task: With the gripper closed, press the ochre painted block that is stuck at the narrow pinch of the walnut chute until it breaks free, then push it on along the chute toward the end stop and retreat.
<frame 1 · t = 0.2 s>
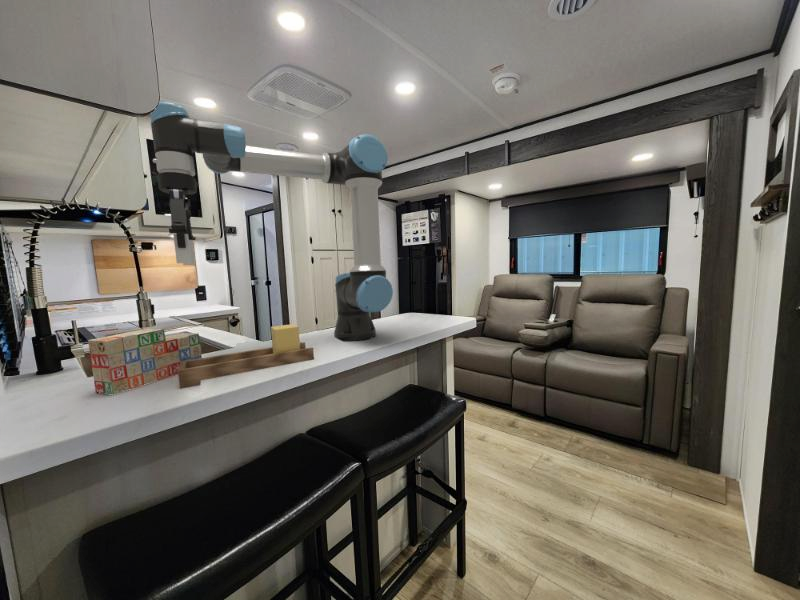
hand: (187, 264, 79), 28 cm above the table, tool pointing down, fingers open, 13 cm apart
block: (285, 343, 87), point 5 cm above the table, slide at 0.0 cm
stack of blocks: (155, 379, 80), on the table
chute: (251, 369, 83), on the table
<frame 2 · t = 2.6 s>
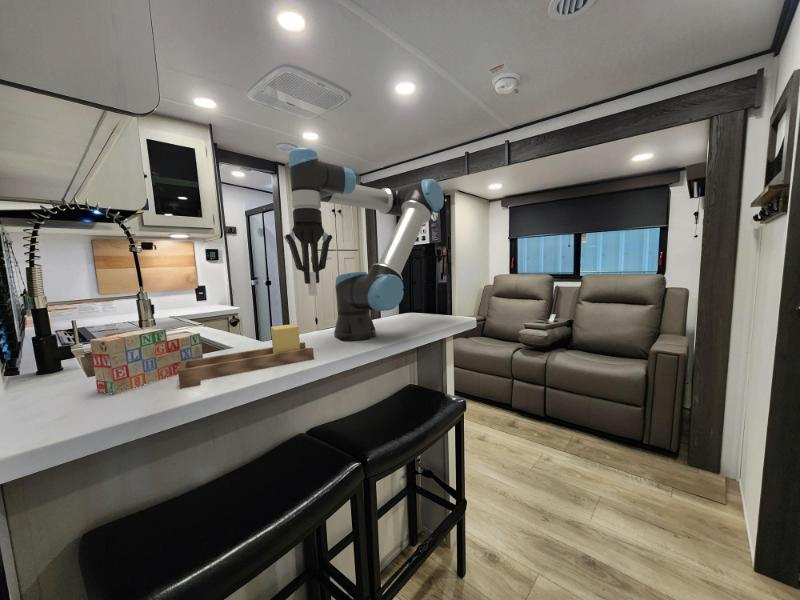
hand: (312, 295, 90), 18 cm above the table, tool pointing down, fingers closed
nothing on the table moved.
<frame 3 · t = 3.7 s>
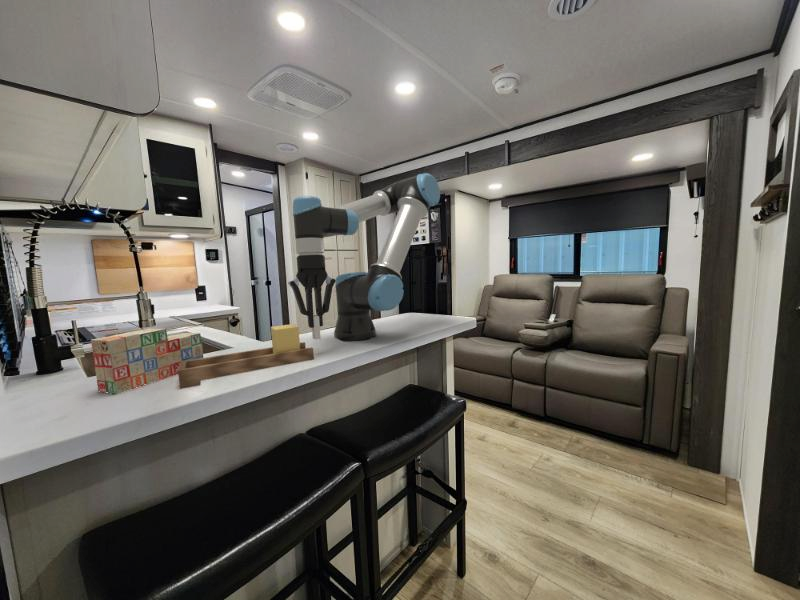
hand: (316, 338, 91), 6 cm above the table, tool pointing down, fingers closed
nothing on the table moved.
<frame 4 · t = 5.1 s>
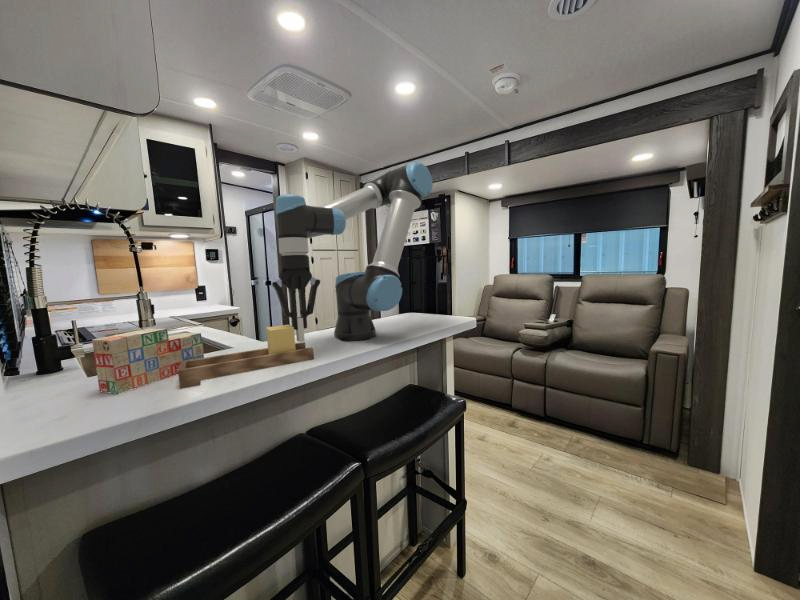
hand: (300, 340, 89), 6 cm above the table, tool pointing down, fingers closed
block: (281, 343, 86), point 5 cm above the table, slide at 1.2 cm, touching gripper
everything else where it was.
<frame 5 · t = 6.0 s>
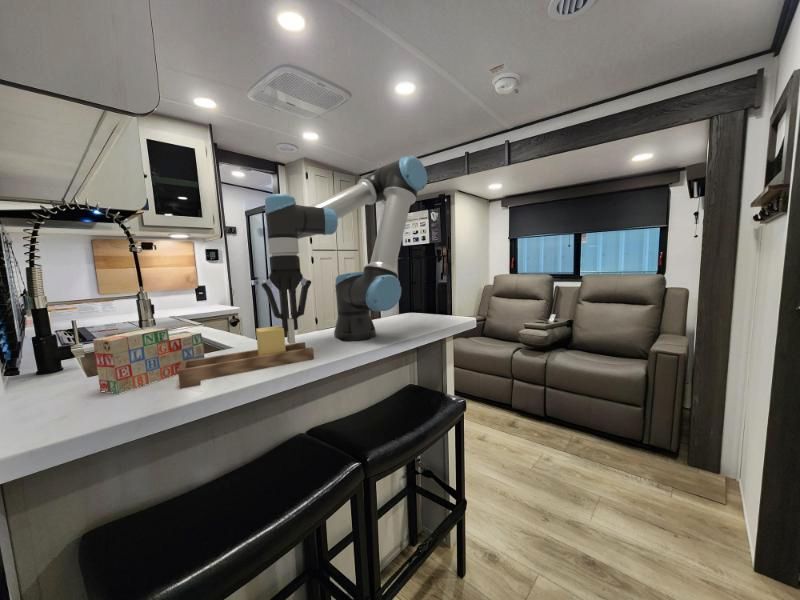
hand: (291, 342, 87), 6 cm above the table, tool pointing down, fingers closed
block: (271, 345, 85), point 5 cm above the table, slide at 3.7 cm, touching gripper
everything else where it was.
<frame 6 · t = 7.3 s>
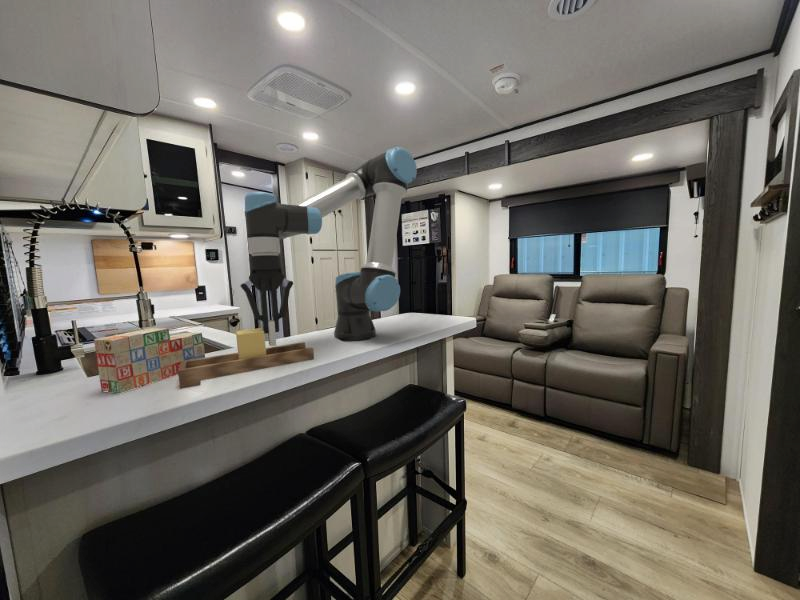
hand: (272, 344, 85), 6 cm above the table, tool pointing down, fingers closed
block: (251, 348, 82), point 5 cm above the table, slide at 8.5 cm, touching gripper
everything else where it was.
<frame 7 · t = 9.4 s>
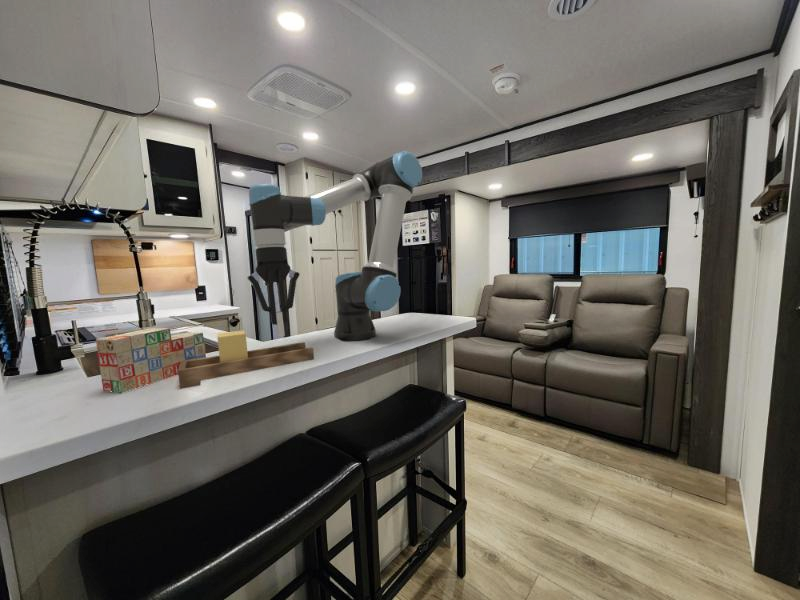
hand: (280, 335, 86), 8 cm above the table, tool pointing down, fingers closed
block: (233, 351, 80), point 5 cm above the table, slide at 12.8 cm
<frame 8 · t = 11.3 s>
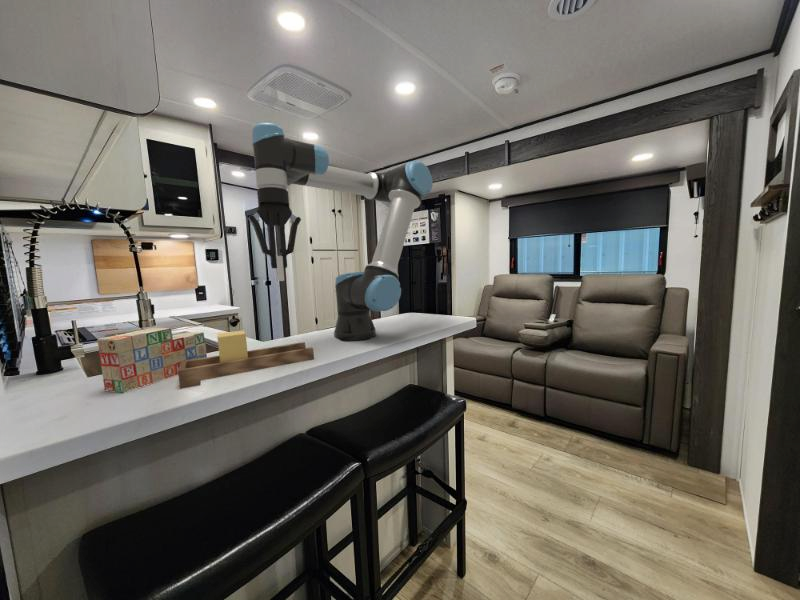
hand: (280, 280, 85), 22 cm above the table, tool pointing down, fingers closed
at the end: block slide at 12.8 cm; the gripper is holding nothing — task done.
